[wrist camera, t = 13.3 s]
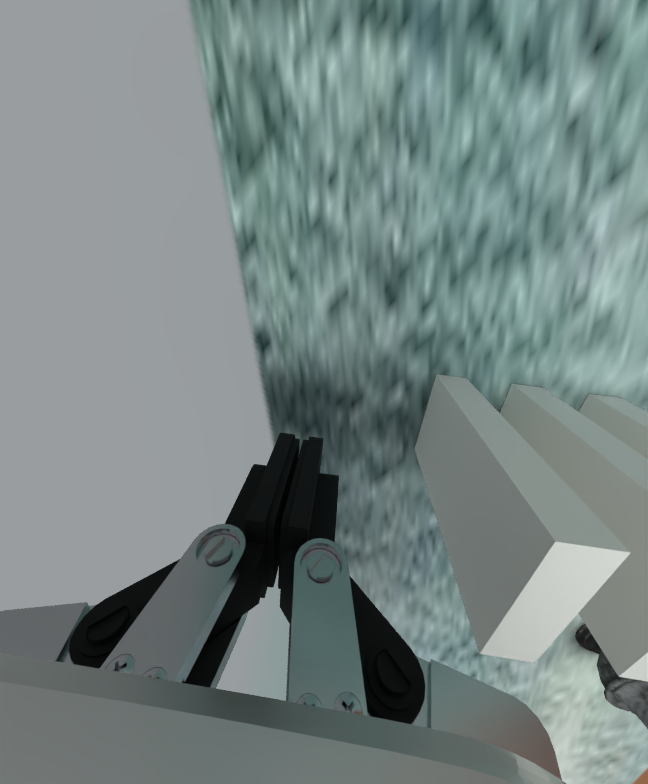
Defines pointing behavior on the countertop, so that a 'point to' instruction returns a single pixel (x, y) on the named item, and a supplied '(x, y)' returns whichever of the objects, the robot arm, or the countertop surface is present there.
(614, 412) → the domino
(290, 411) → the countertop surface
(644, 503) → the domino
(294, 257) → the countertop surface
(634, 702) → the dark grey ornamental finial
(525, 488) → the domino
